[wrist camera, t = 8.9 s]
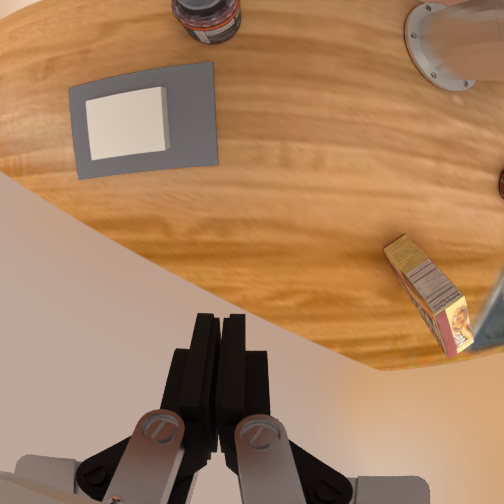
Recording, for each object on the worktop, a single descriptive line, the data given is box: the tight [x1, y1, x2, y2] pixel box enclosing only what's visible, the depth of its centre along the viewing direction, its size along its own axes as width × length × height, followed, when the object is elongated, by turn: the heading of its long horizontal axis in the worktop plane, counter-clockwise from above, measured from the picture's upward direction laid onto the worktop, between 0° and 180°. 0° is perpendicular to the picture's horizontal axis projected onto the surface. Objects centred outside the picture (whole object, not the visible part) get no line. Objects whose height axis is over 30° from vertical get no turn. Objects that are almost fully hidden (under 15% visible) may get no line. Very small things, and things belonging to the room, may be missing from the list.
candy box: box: [384, 234, 474, 359], centre depth 34 cm, size 9×4×15 cm, turn 37°
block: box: [86, 87, 170, 160], centre depth 31 cm, size 2×7×9 cm
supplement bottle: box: [171, 0, 241, 44], centre depth 22 cm, size 6×6×11 cm
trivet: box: [69, 62, 218, 180], centre depth 32 cm, size 18×12×1 cm, turn 92°
